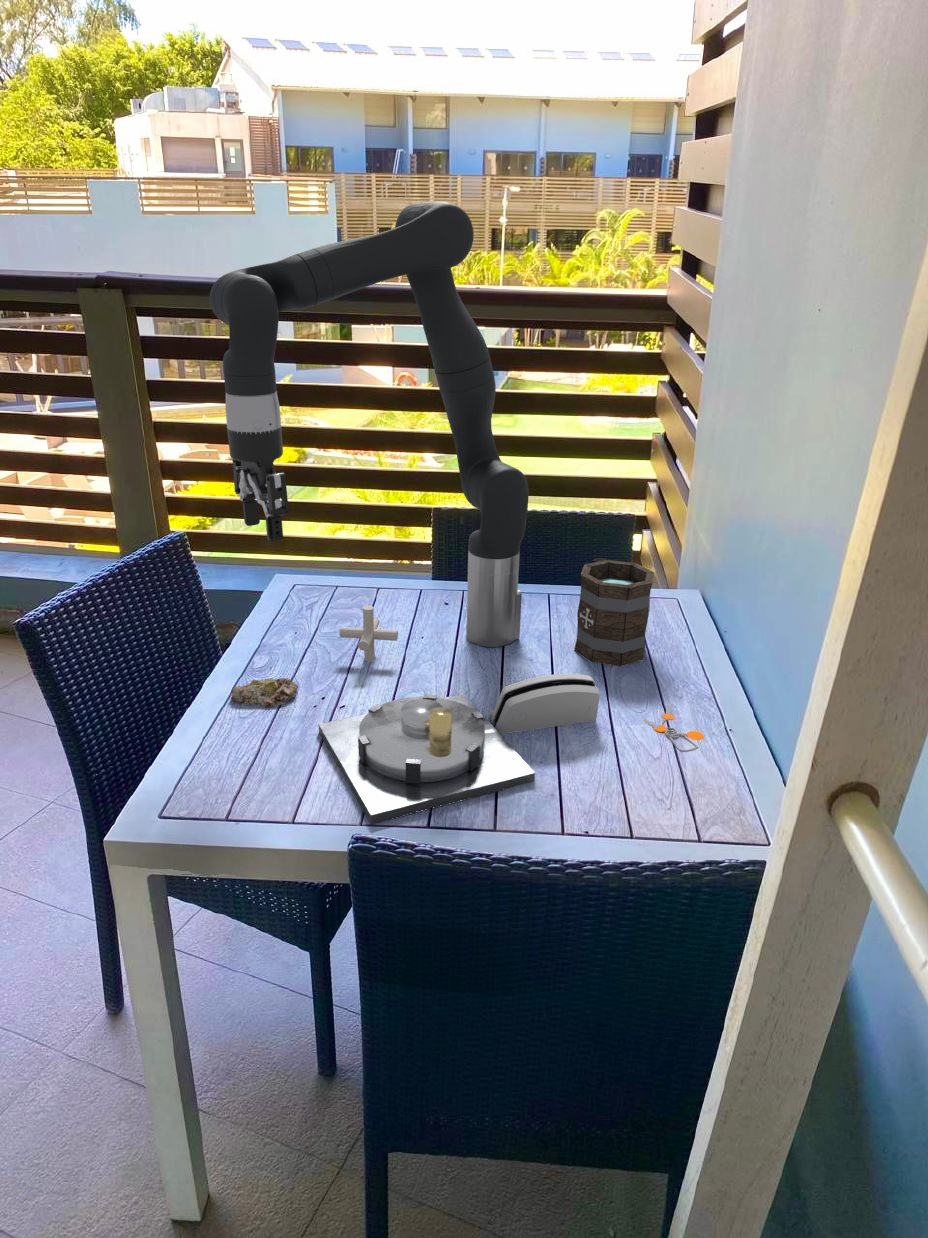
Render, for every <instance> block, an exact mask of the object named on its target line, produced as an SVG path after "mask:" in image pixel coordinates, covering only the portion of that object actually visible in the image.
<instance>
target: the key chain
mask: <svg viewBox="0 0 928 1238" xmlns="http://www.w3.org/2000/svg"><path fill="white" fill-rule="evenodd" d="M665 709H666V711H665V713H662V714H661V715H660V716H661V718H662V719H664V720H663V721H662V722H661V724H656V723H655V722H652V721H650V720H648V719H646V718H645V719H643V720H642V721H643V722H644V723H645V724H647V726H651V728H653V731H655V732H657V733H664V734H665V735H666V737H668V738H669V739H670V741H671V742H672V744H673V745H674V747H675V748H676V749H677V750H678V751H679V752H682V753H683V752H685V753H686V752H692V751H695V750H697V749H698V748H699V746H698V745H697V744H696V743H695V742H693V741H703V740H704V739H705V735H704V733H702V732H700V731H698V730H689V731H688V732H685V733H683V732H677V729H676V728H675V727H668V726H666V725H665V722H667V721H672V720H675V718H676V716H675V715H674V713H673V706H672V705H666V708H665ZM681 737H682V738H685V739H686V740H687V741H689V742H690V743H691V744H692V745H693V746H694V747H692V748H688V749H682V748H680V747H679V745H678V744H677V743H676V741H675V738H677V739H679V738H681ZM690 739H691V740H690ZM692 740H693V741H692Z"/></svg>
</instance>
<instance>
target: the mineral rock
mask: <svg viewBox="0 0 928 1238" xmlns="http://www.w3.org/2000/svg"><path fill="white" fill-rule="evenodd" d="M298 689H299V685H298V684H297V683H296V681H292V679H291V678H289V677H283V678H282V677H281V678H277V679H274V678H273V677H272V678H266V679H252V680H251V682H249V683H246V684H244V685H242V686H241V685H239V686H234V687H233V688H232V690H231V691H230V694H231V698H230V700H231V701H232V702H236V703H237V704H238V705H244V706H246V705H247V706H252V705H255V706H257V705H258V706H262V707H263V708H271V707H272V708H273V707H277V706H280V705H285V704H287V702H288V701H289V700H291V699H293V698H294V697H295V696H296V694H297V693H298Z"/></svg>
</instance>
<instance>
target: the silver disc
mask: <svg viewBox="0 0 928 1238" xmlns="http://www.w3.org/2000/svg"><path fill="white" fill-rule="evenodd" d="M444 698H445V697H438V695H437V694H426V693H424V694H423V696H409V697H402V698H398V699H393V700H390V701H387V702H385V703H382V704H379V703H376V704H375V705H373V706H372V707H370V708H368V713H366V714H367V715H366V716H365V717H364V718H363V719H362V721H361V723H360V727H359V737H358V749H359V757H360V759H361V761H362V762H363V763H366V764H367V765H368V766H370V767H371V768H372V769H373V770H375V771H377V772H378V773H380V774H382V775H385V776H387V777H390V778H394V779H398V780H403V781H406V783H418V784H420V783H421V782H433V781H440V780H445V779H449V778H453V777H456V776H458V775H461V774H463V773H465V772H467V771H468V770H470V771H472V770H473V769H474V768H475V767H477V766H478V765H479V761H480V759H481V758H482V756H483V753H484V744H485V726H484V717H485V716H484V715H483V714H482V712H480V711H479V710H478V711H473V710H472V709H471V708H469V707H467V706H465V705H463V704H461V703H458V702H455V701H452V700H448V699H444ZM482 715H483V716H484V717H483V716H482Z"/></svg>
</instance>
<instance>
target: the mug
mask: <svg viewBox="0 0 928 1238" xmlns="http://www.w3.org/2000/svg"><path fill="white" fill-rule="evenodd" d="M654 576H655V572H654V571H652V570H650V569H648V568H646V567H645V566H643V565H640V564H638V563H636V562H632V561H631V562H629V561H628V562H627V561H622V560H621V561H620V560H613V559H612V560H611V559H606V558H605V557H597V558H594V559H593V560H592V562H591V563H590V562H589V563H585V564H583V568H582V570H581V573H580V592H579V593H580V594H579V602H578V606H577V629H576V630H577V631H576V632H577V633H576V640H575V646H574V649H573V651H574V652H575V653H577V654H578V655H580V656H581V657H582V658H584V659H586V660H587V661H589V662H591V663H593V664H601V665H609V666H615V667H616V666H617V667H623V666H626V665H627V666H628V665H630V664H634V663H638V662H641V661H643V660H644V656H645V651H646V632H647V626H648V620H649V616H650V609H651V607H650V601H651V600H650V599H651V591H652V585H653V582H654Z"/></svg>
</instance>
